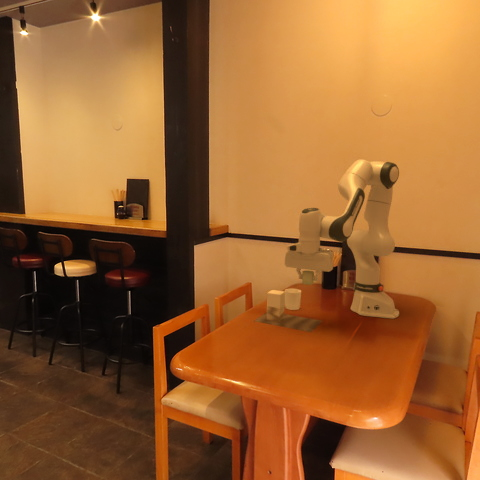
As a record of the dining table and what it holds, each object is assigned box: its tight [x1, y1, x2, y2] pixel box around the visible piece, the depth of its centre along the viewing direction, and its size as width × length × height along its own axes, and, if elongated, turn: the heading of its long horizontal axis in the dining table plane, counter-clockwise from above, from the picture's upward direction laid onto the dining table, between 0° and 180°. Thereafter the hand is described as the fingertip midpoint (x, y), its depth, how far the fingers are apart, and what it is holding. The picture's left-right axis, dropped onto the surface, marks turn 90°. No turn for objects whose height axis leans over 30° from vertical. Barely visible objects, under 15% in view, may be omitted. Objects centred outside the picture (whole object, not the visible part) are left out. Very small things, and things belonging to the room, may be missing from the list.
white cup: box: [284, 288, 302, 311], centre depth 200 cm, size 8×8×10 cm
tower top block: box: [266, 289, 285, 308], centre depth 183 cm, size 6×6×6 cm
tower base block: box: [266, 305, 286, 322], centre depth 184 cm, size 6×6×6 cm
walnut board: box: [253, 311, 323, 333], centre depth 182 cm, size 26×16×2 cm, turn 63°
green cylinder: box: [301, 270, 315, 286], centre depth 175 cm, size 5×5×5 cm
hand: (307, 279), depth 176 cm, fingers closed on green cylinder, 5 cm apart
